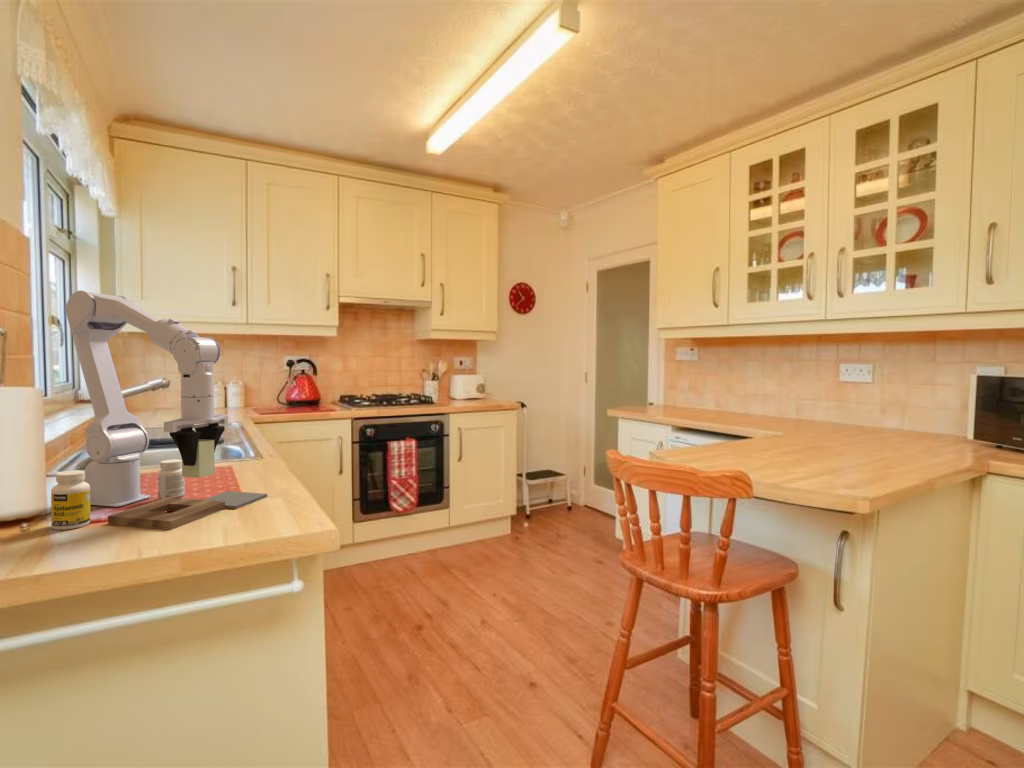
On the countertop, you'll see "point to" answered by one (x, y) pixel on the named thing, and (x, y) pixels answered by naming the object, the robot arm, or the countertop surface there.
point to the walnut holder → (155, 517)
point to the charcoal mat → (237, 498)
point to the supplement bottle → (70, 501)
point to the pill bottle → (170, 479)
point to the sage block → (201, 460)
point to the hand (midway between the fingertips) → (198, 463)
